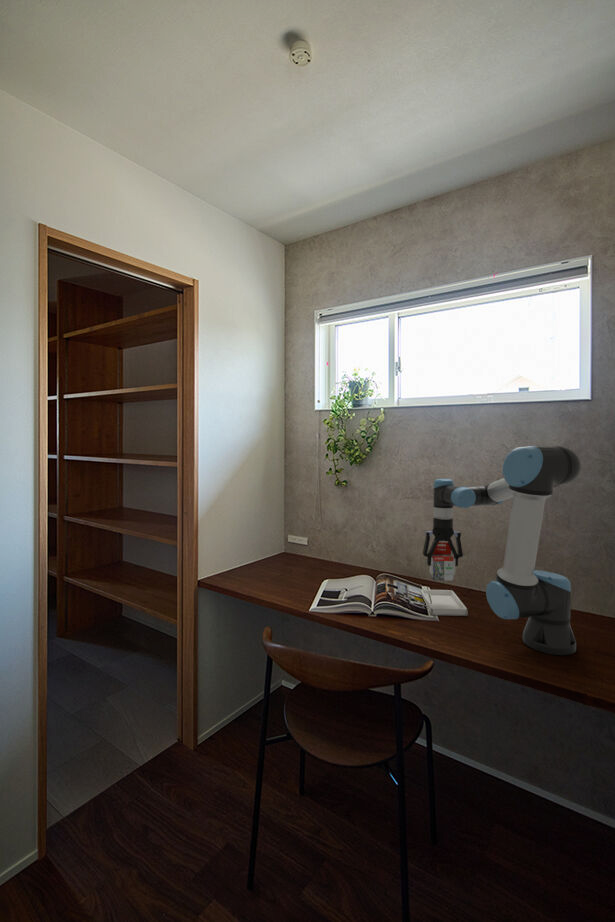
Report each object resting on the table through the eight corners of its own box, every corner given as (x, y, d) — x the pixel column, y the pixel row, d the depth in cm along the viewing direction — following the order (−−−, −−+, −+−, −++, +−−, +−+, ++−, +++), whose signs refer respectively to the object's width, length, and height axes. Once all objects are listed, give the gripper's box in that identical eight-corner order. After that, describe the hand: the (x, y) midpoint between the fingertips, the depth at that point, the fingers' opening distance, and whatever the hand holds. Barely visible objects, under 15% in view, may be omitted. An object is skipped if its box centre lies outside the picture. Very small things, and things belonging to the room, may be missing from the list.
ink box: (453, 581, 172) (454, 544, 172) (433, 580, 173) (433, 544, 172) (451, 578, 176) (451, 542, 175) (431, 577, 177) (431, 542, 176)
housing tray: (467, 615, 164) (467, 609, 163) (430, 615, 165) (430, 608, 164) (452, 596, 185) (452, 590, 185) (420, 595, 186) (420, 589, 186)
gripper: (466, 516, 177) (466, 571, 177) (415, 515, 178) (414, 570, 179) (472, 519, 169) (471, 577, 170) (418, 518, 170) (417, 576, 171)
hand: (442, 573), depth 174 cm, fingers closed on ink box, 8 cm apart
